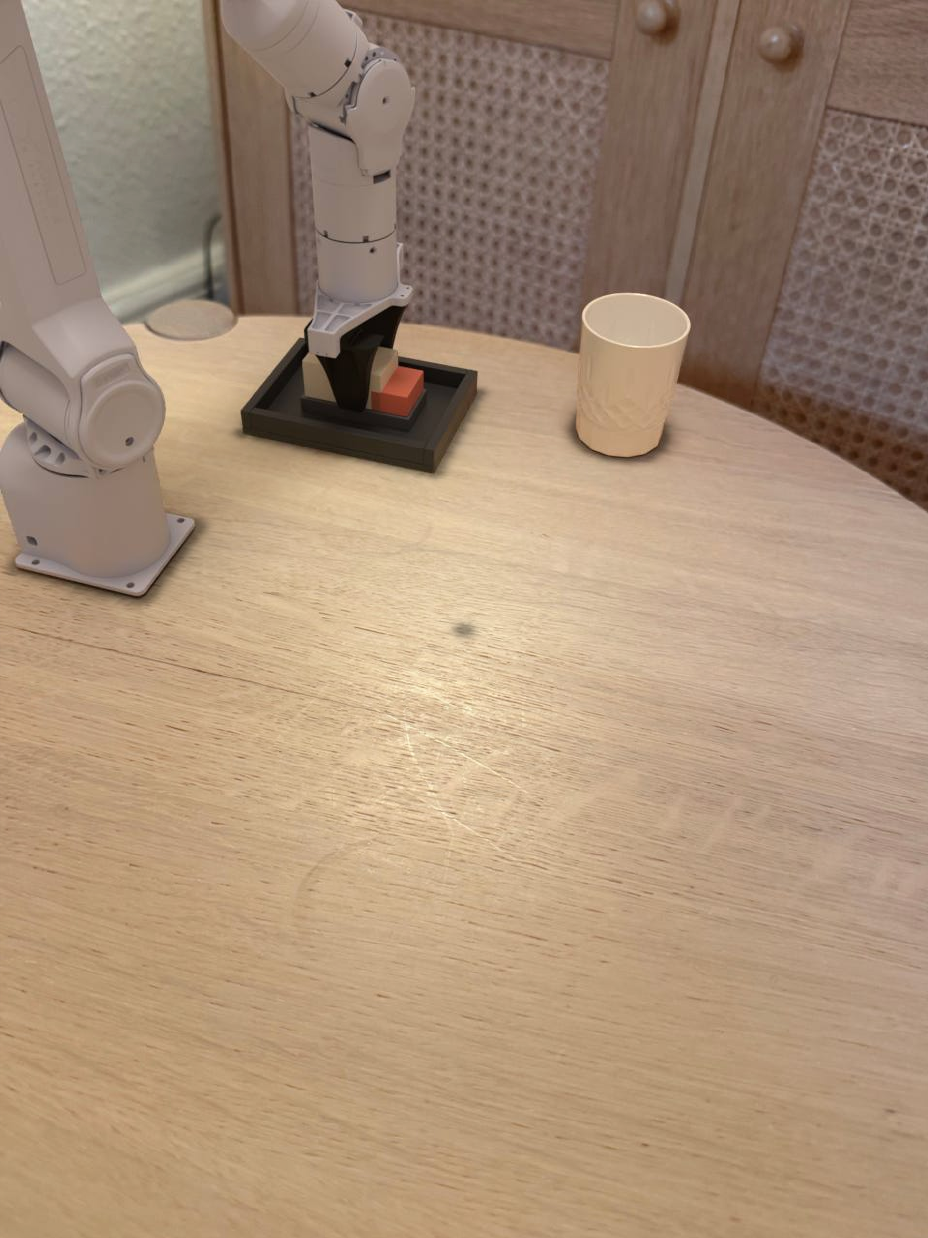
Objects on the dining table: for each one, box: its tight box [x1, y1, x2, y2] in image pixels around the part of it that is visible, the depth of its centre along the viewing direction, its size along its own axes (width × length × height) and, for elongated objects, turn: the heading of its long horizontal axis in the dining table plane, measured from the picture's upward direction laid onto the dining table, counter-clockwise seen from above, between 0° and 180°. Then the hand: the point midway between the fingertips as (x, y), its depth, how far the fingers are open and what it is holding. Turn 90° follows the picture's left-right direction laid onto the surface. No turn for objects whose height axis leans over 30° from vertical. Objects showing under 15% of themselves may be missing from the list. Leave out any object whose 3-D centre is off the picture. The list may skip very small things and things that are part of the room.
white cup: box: [575, 292, 692, 458], centre depth 82 cm, size 8×8×10 cm
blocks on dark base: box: [300, 347, 427, 432], centre depth 85 cm, size 9×4×4 cm, turn 73°
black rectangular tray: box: [240, 337, 479, 474], centre depth 86 cm, size 16×12×2 cm
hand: (362, 391), depth 85 cm, fingers open, 4 cm apart
